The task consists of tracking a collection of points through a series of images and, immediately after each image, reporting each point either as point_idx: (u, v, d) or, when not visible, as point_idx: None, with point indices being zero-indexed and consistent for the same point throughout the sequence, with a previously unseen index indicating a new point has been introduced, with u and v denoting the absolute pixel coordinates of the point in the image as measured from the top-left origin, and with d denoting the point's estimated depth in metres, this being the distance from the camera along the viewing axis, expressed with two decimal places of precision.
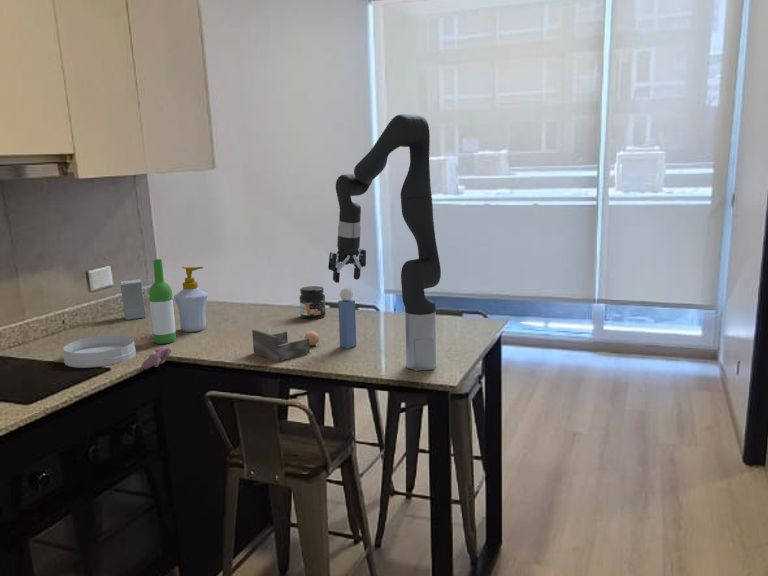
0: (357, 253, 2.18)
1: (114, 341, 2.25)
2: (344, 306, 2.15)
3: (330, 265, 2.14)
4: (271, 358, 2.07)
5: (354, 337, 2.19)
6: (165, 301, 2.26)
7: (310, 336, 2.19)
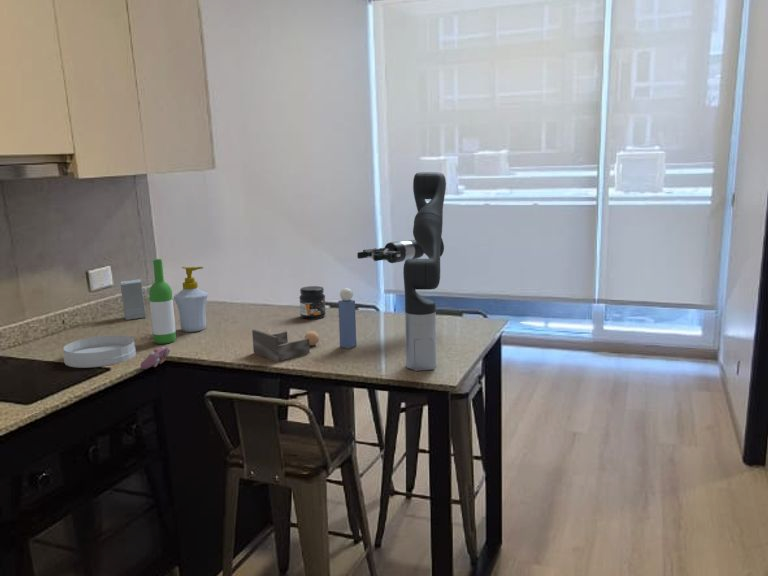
0: (392, 251, 2.26)
1: (114, 341, 2.25)
2: (344, 306, 2.15)
3: None
4: (271, 358, 2.07)
5: (354, 337, 2.19)
6: (165, 301, 2.26)
7: (310, 336, 2.19)
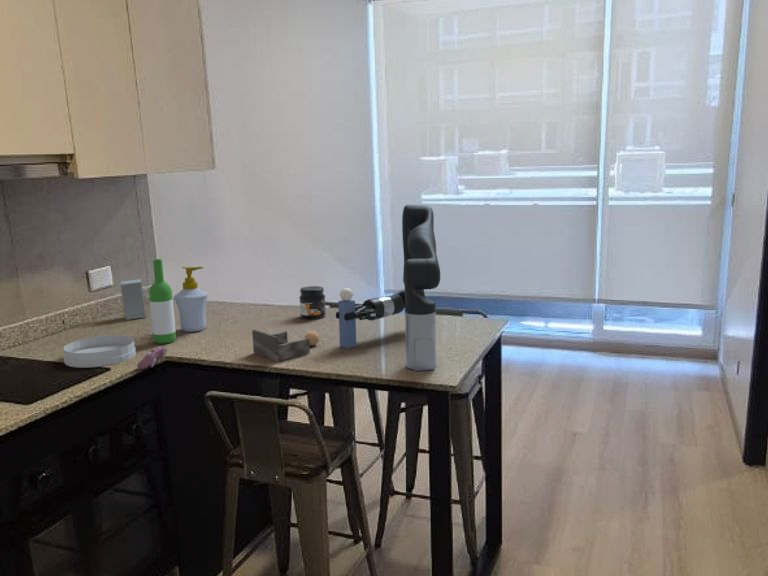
0: (369, 309, 2.21)
1: (114, 341, 2.25)
2: (344, 306, 2.15)
3: None
4: (271, 358, 2.07)
5: (354, 337, 2.19)
6: (165, 301, 2.26)
7: (310, 336, 2.19)
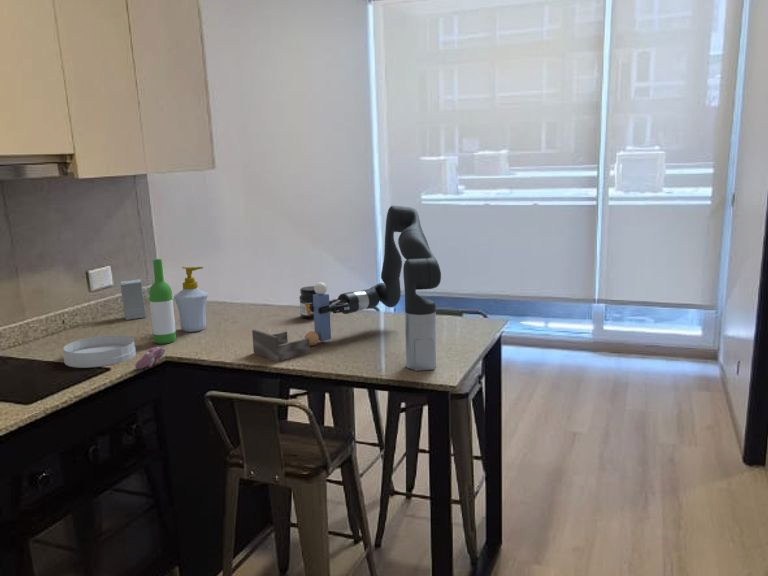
0: (344, 303, 2.25)
1: (114, 341, 2.25)
2: (318, 300, 2.20)
3: None
4: (271, 358, 2.07)
5: (329, 330, 2.24)
6: (165, 301, 2.26)
7: (310, 336, 2.19)
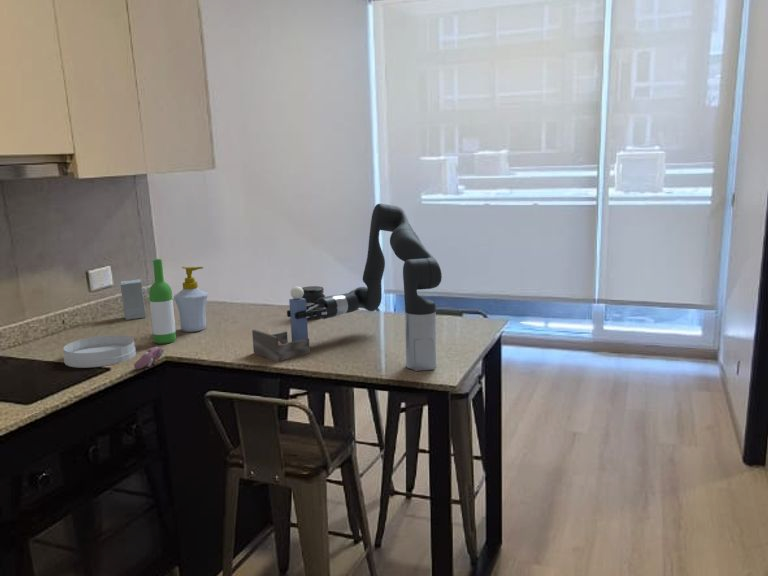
0: (321, 308, 2.19)
1: (114, 341, 2.25)
2: (295, 304, 2.14)
3: None
4: (271, 358, 2.07)
5: (306, 335, 2.18)
6: (165, 301, 2.26)
7: None
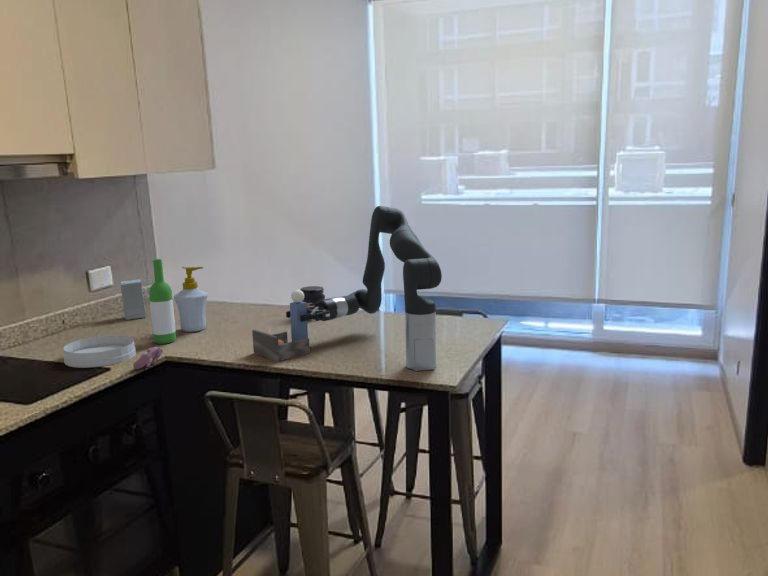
0: (322, 310, 2.19)
1: (114, 341, 2.25)
2: (295, 308, 2.14)
3: None
4: (271, 358, 2.07)
5: None
6: (165, 301, 2.26)
7: (278, 342, 2.10)
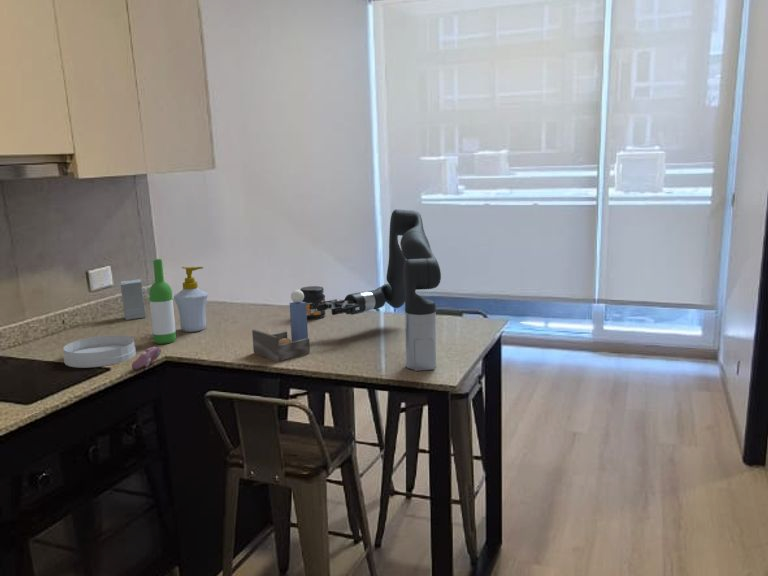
0: (351, 304, 2.28)
1: (114, 341, 2.25)
2: (295, 308, 2.14)
3: None
4: (271, 358, 2.07)
5: None
6: (165, 301, 2.26)
7: (291, 341, 2.14)
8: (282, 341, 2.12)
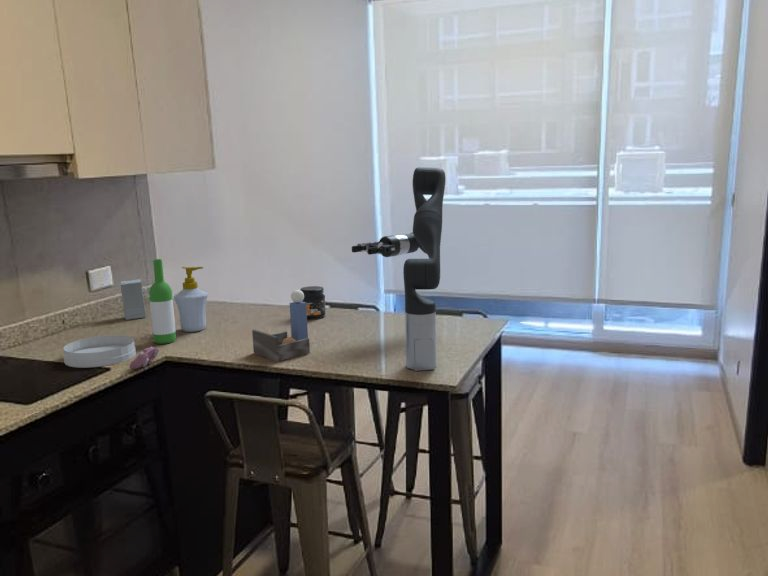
0: (386, 245, 2.26)
1: (114, 341, 2.25)
2: (295, 308, 2.14)
3: None
4: (271, 358, 2.07)
5: None
6: (165, 301, 2.26)
7: None
8: (290, 338, 2.14)
